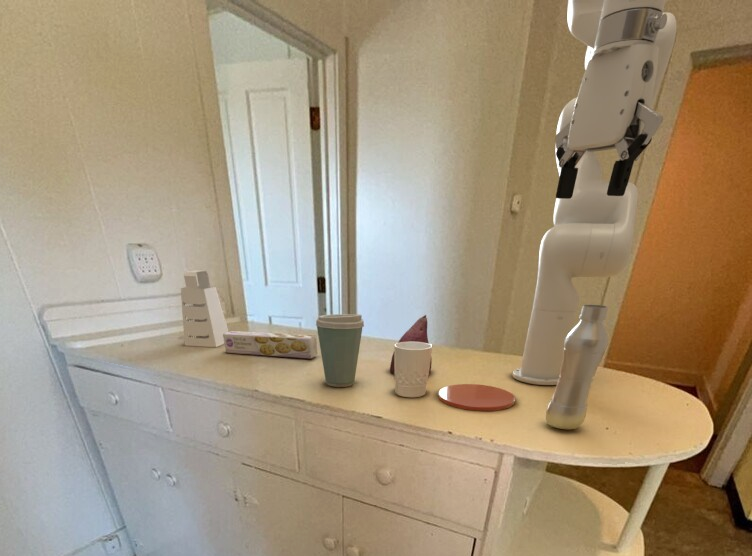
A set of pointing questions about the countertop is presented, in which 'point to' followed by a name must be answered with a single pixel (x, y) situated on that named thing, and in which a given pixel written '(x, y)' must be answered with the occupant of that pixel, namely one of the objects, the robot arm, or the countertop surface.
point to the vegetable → (414, 337)
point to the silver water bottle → (578, 368)
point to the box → (271, 344)
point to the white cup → (411, 368)
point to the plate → (476, 397)
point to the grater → (202, 312)
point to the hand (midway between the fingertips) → (587, 197)
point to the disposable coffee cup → (340, 347)
